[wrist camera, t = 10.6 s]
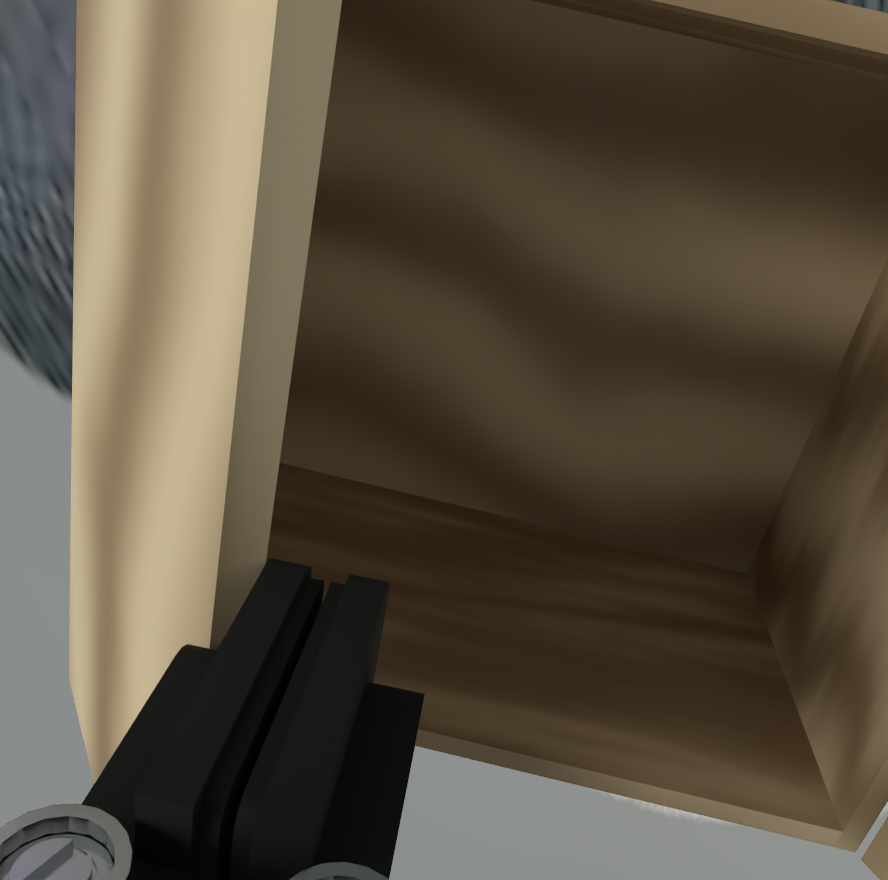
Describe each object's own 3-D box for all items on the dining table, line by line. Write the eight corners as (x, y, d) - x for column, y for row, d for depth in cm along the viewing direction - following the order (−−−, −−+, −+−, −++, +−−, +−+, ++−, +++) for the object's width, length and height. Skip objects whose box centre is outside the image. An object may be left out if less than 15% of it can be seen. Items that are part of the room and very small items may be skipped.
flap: (370, -207, 7) (302, -232, 7) (198, 1058, 15) (164, 1073, 15) (116, -158, 14) (79, -169, 14) (93, 673, 23) (69, 678, 22)
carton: (310, -73, 26) (124, -162, 15) (978, 81, 26) (1318, 112, 14) (247, 463, 34) (98, 671, 23) (752, 583, 34) (854, 854, 23)
